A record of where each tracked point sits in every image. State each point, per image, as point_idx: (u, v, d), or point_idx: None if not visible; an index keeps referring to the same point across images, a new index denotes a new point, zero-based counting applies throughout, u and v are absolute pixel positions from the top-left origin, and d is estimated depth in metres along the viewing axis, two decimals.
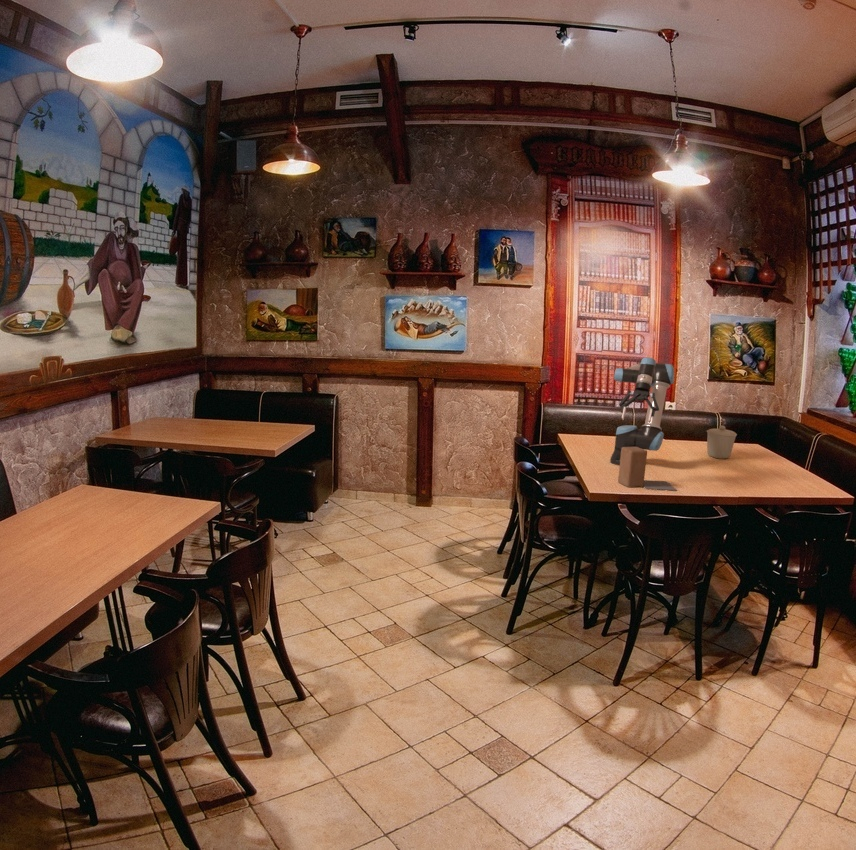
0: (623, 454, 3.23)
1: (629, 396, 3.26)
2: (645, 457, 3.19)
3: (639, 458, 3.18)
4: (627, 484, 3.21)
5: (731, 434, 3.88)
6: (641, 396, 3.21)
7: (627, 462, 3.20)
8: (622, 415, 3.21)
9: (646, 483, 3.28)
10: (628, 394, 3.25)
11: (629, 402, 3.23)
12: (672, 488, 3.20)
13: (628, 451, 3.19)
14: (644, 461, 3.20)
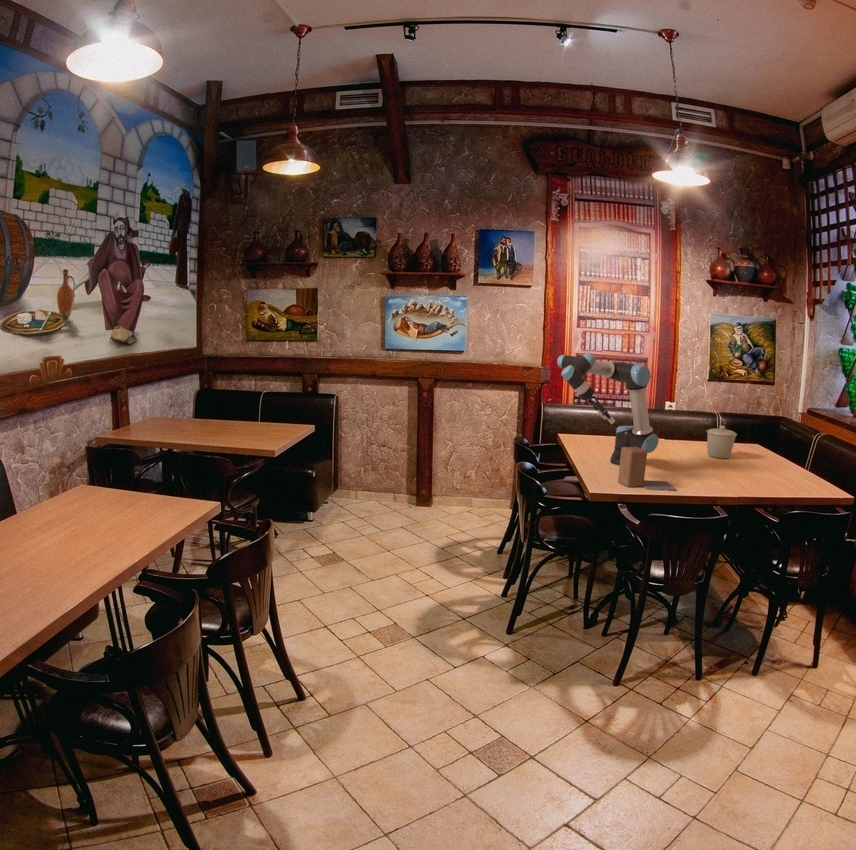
0: (623, 454, 3.23)
1: None
2: (645, 457, 3.19)
3: (639, 458, 3.18)
4: (627, 484, 3.21)
5: (731, 434, 3.88)
6: None
7: (627, 462, 3.20)
8: None
9: (646, 483, 3.28)
10: (588, 400, 3.29)
11: (594, 406, 3.28)
12: (672, 488, 3.20)
13: (628, 451, 3.19)
14: (644, 461, 3.20)
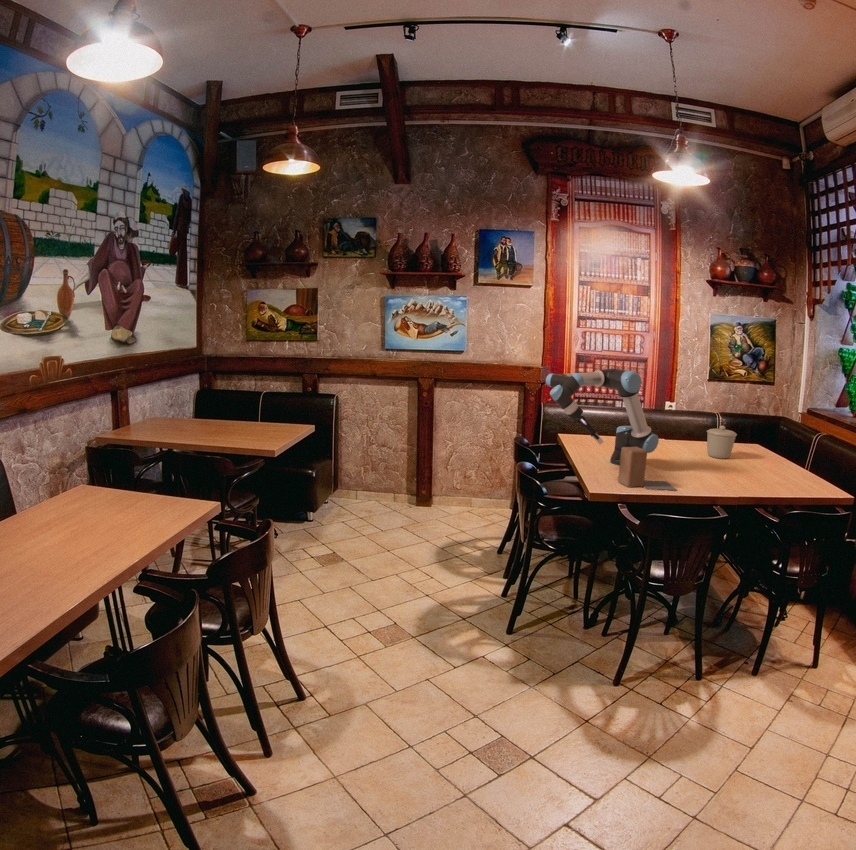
0: (623, 454, 3.23)
1: None
2: (645, 457, 3.19)
3: (639, 458, 3.18)
4: (627, 484, 3.21)
5: (731, 434, 3.88)
6: None
7: (627, 462, 3.20)
8: None
9: (646, 483, 3.28)
10: None
11: (587, 429, 3.21)
12: (672, 488, 3.20)
13: (628, 451, 3.19)
14: (644, 461, 3.20)
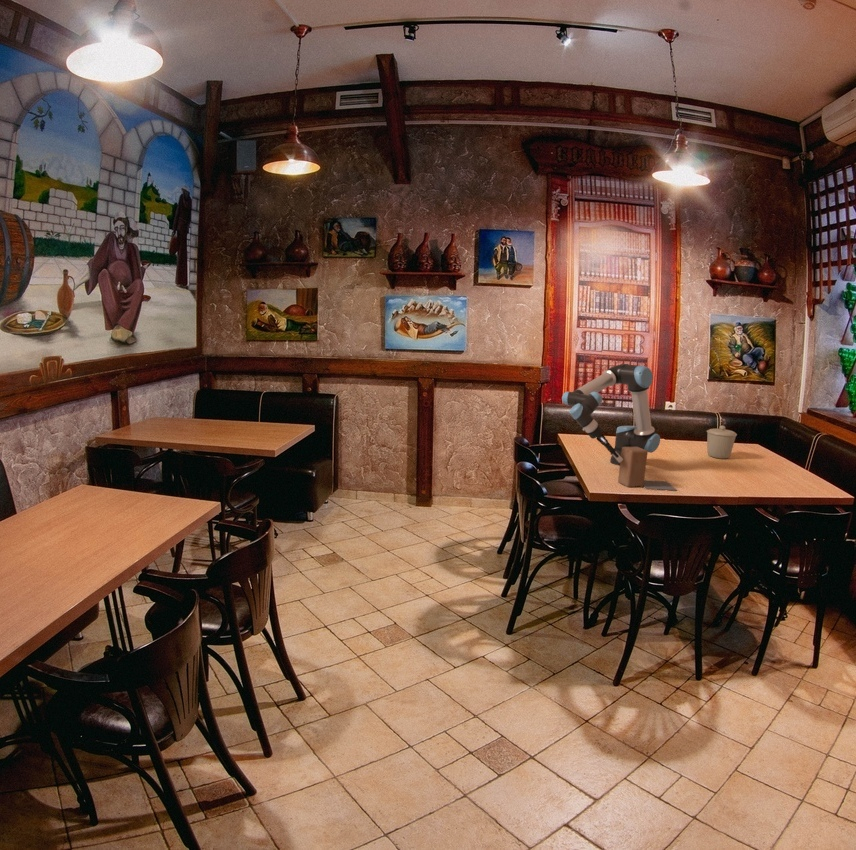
0: (623, 454, 3.23)
1: None
2: (645, 457, 3.19)
3: (640, 457, 3.18)
4: (627, 484, 3.21)
5: (731, 434, 3.88)
6: None
7: (627, 462, 3.20)
8: (617, 460, 3.24)
9: (646, 483, 3.28)
10: None
11: None
12: (672, 488, 3.20)
13: (628, 451, 3.19)
14: (644, 461, 3.20)
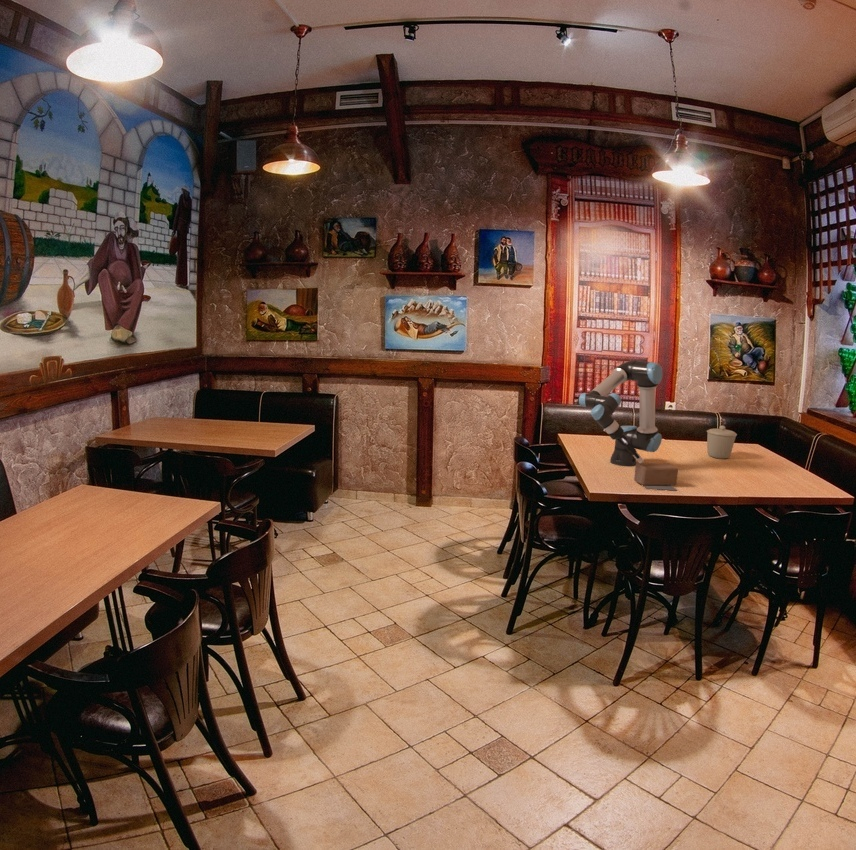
0: (665, 464, 3.30)
1: None
2: (670, 483, 3.25)
3: (671, 477, 3.24)
4: (646, 467, 3.22)
5: (731, 434, 3.88)
6: None
7: (664, 466, 3.25)
8: None
9: None
10: None
11: None
12: (672, 488, 3.20)
13: (674, 466, 3.26)
14: (667, 483, 3.24)
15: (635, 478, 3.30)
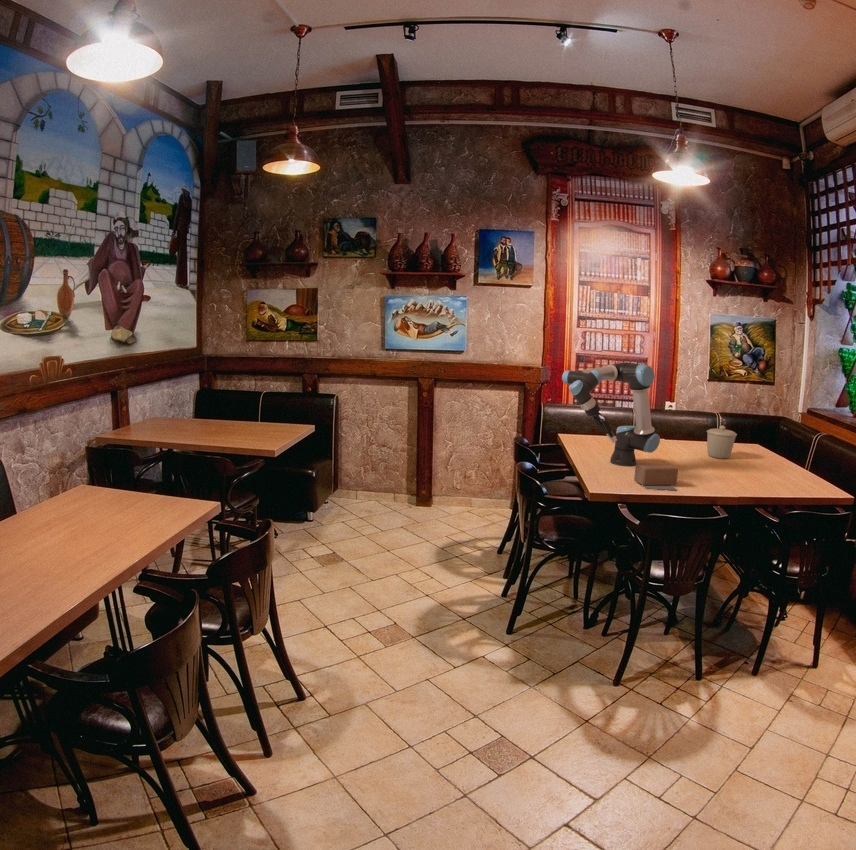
0: (665, 464, 3.30)
1: None
2: (670, 483, 3.25)
3: (671, 477, 3.24)
4: (646, 467, 3.22)
5: (731, 434, 3.88)
6: (597, 419, 3.20)
7: (664, 466, 3.25)
8: (611, 441, 3.24)
9: None
10: (593, 420, 3.25)
11: (601, 426, 3.22)
12: (672, 488, 3.20)
13: (674, 466, 3.26)
14: (667, 483, 3.24)
15: (635, 478, 3.30)
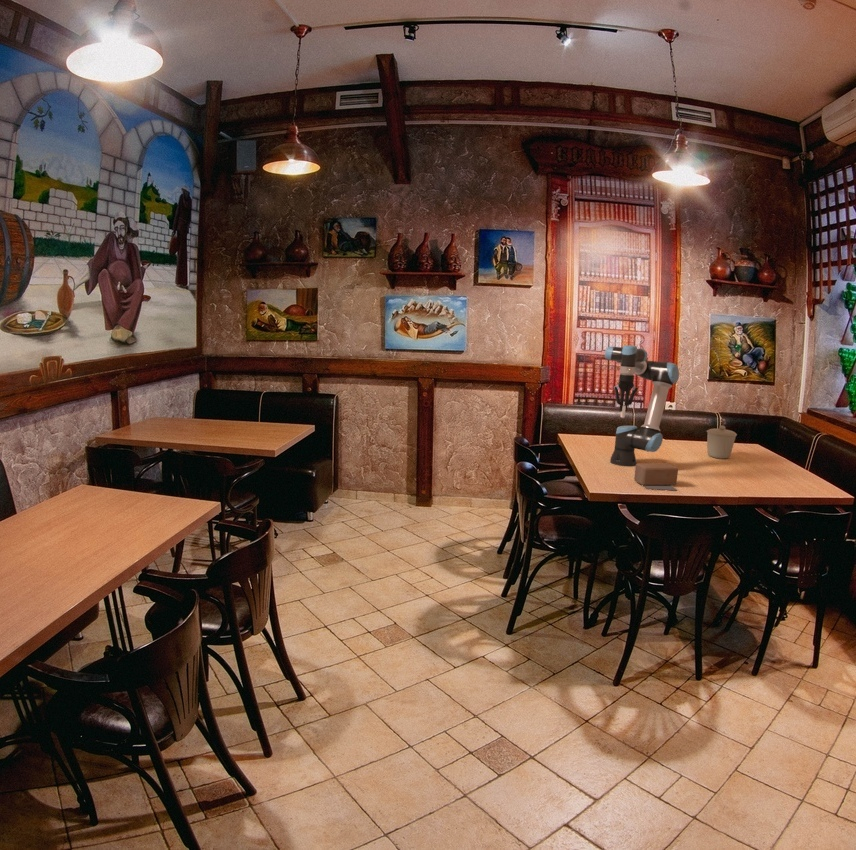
0: (665, 464, 3.30)
1: None
2: (670, 483, 3.25)
3: (671, 477, 3.24)
4: (646, 467, 3.22)
5: (731, 434, 3.88)
6: (627, 388, 3.28)
7: (664, 466, 3.25)
8: (622, 415, 3.31)
9: None
10: (617, 390, 3.28)
11: (623, 398, 3.29)
12: (672, 488, 3.20)
13: (674, 466, 3.26)
14: (667, 483, 3.25)
15: (635, 478, 3.30)
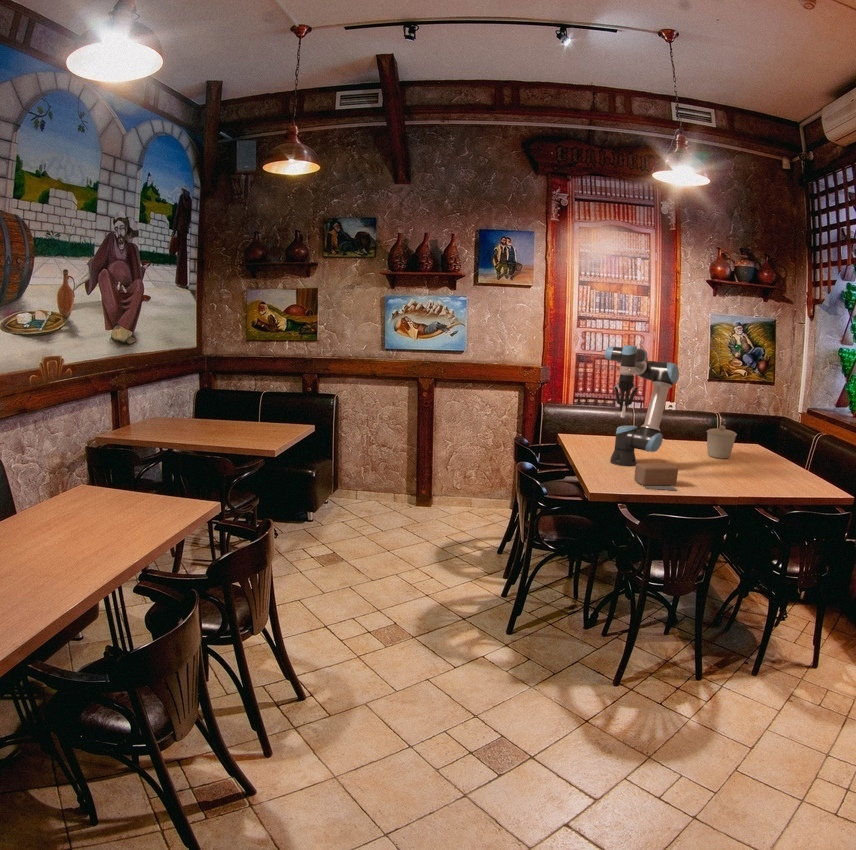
0: (665, 464, 3.30)
1: None
2: (670, 483, 3.25)
3: (671, 477, 3.24)
4: (646, 467, 3.21)
5: (731, 434, 3.88)
6: (627, 388, 3.28)
7: (664, 466, 3.25)
8: (622, 415, 3.31)
9: None
10: (617, 390, 3.28)
11: (623, 397, 3.29)
12: (672, 488, 3.20)
13: (674, 466, 3.26)
14: (667, 483, 3.25)
15: (635, 478, 3.30)
